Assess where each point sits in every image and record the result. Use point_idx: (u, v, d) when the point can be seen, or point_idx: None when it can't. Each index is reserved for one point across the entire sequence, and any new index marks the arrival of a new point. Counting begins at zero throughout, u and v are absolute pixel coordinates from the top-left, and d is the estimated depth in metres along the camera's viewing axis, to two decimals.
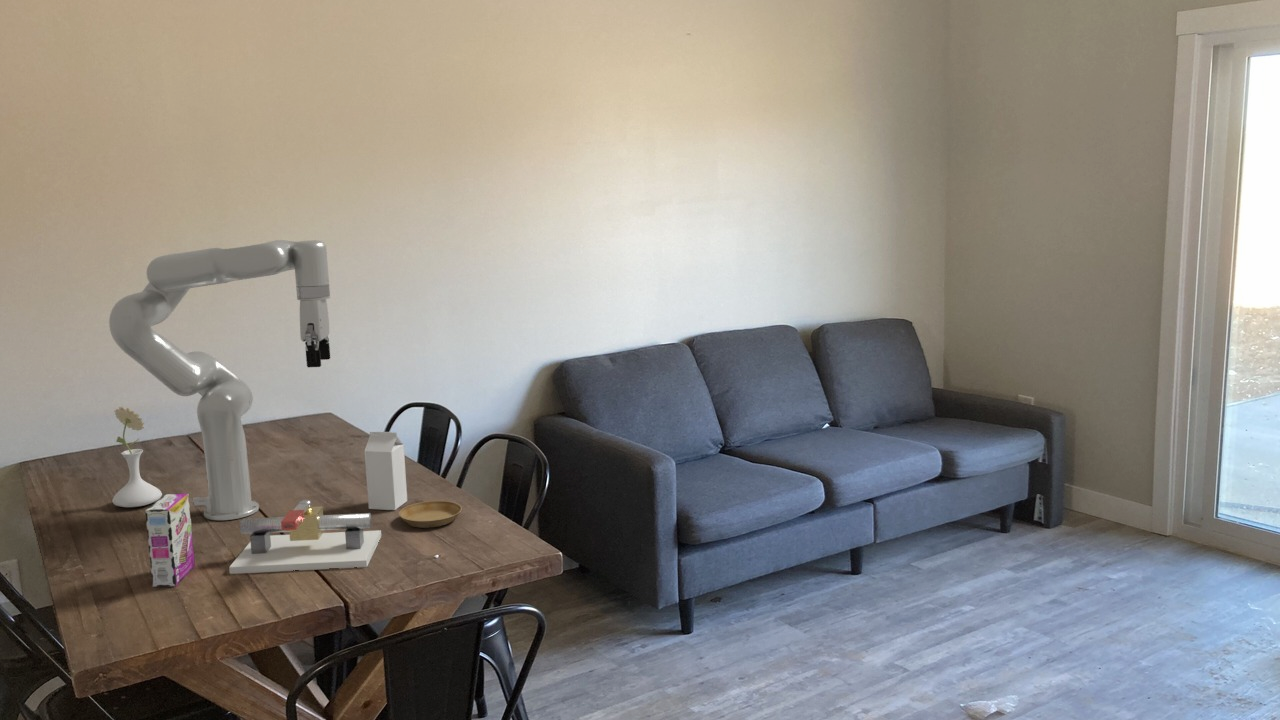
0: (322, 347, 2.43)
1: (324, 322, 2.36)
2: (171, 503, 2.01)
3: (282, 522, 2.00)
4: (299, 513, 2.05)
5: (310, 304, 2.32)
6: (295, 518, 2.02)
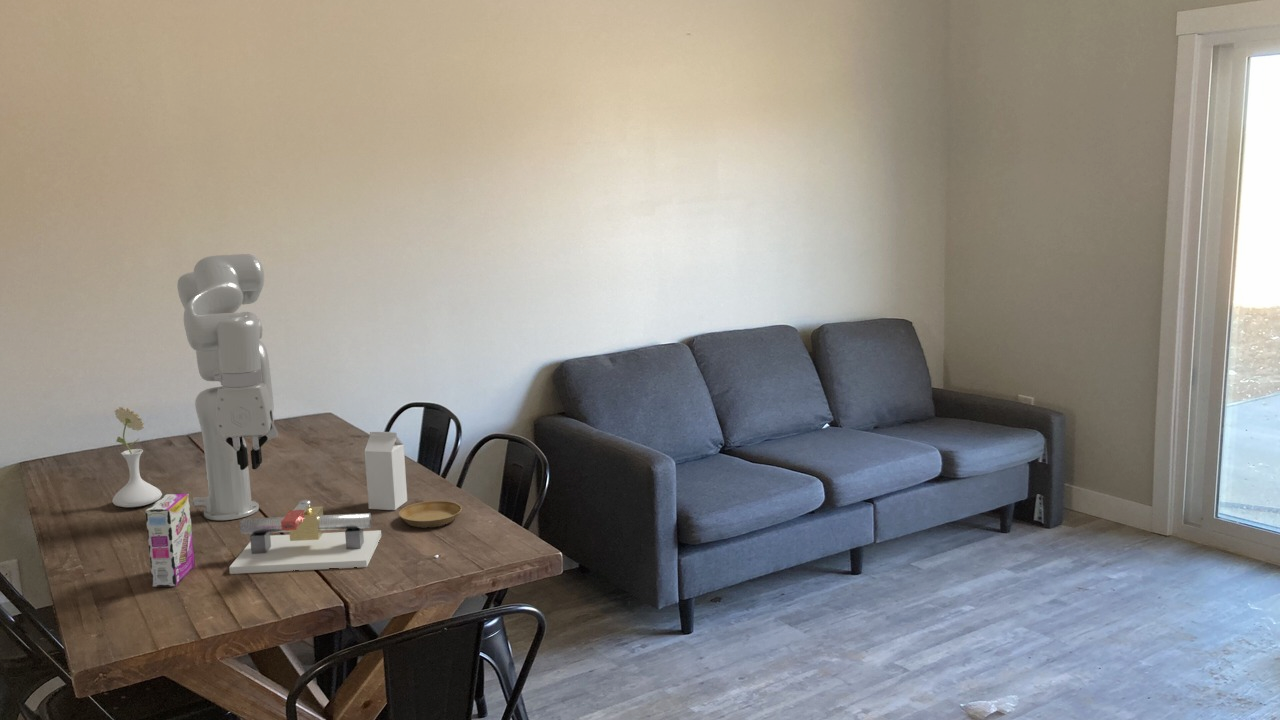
0: (245, 453, 2.01)
1: None
2: (171, 503, 2.01)
3: (282, 522, 2.00)
4: (299, 513, 2.05)
5: (266, 389, 1.99)
6: (295, 518, 2.02)
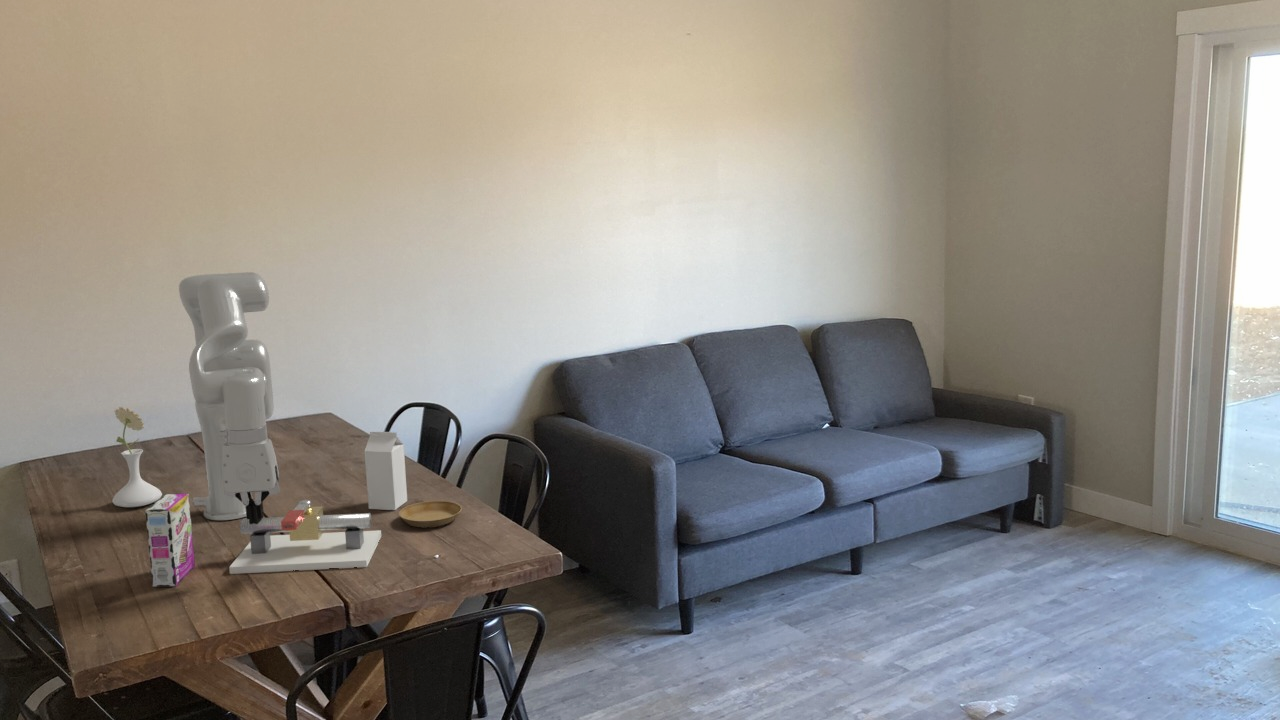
0: None
1: None
2: (171, 503, 2.01)
3: (282, 522, 2.00)
4: (299, 513, 2.05)
5: (271, 445, 2.01)
6: (295, 518, 2.02)
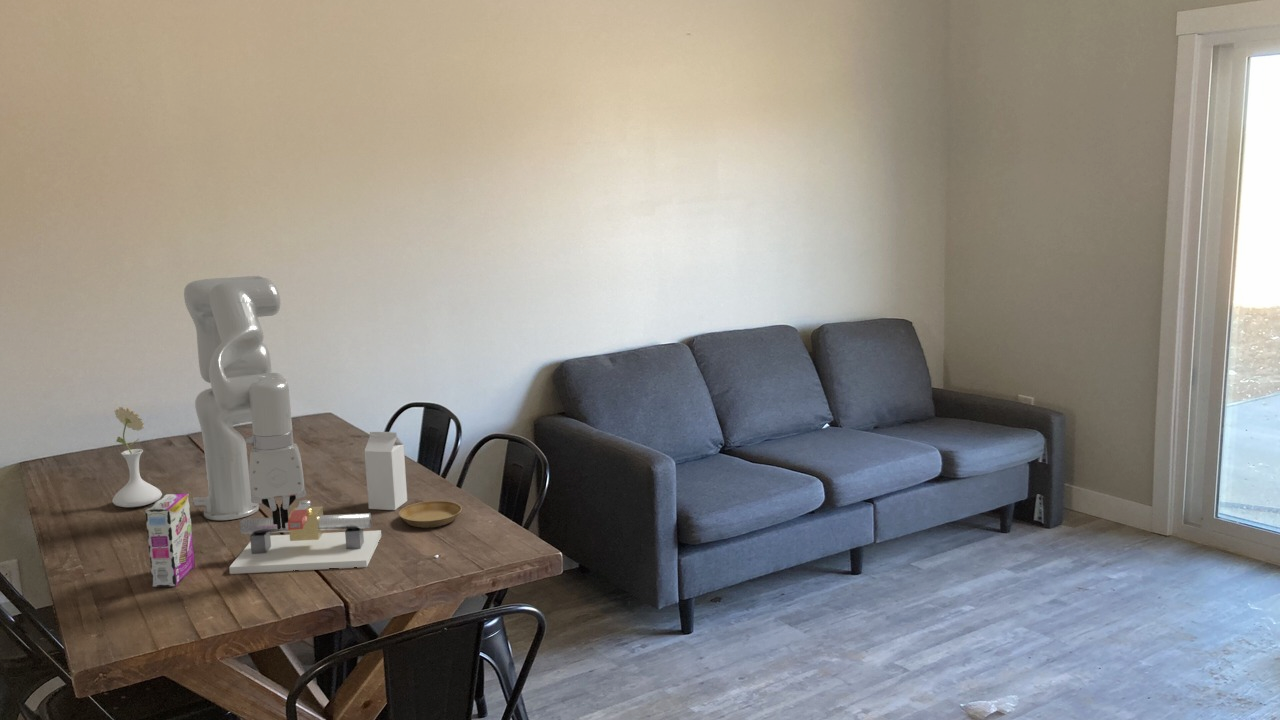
0: None
1: None
2: (171, 503, 2.01)
3: (289, 522, 2.01)
4: (303, 513, 2.05)
5: None
6: (301, 517, 2.02)
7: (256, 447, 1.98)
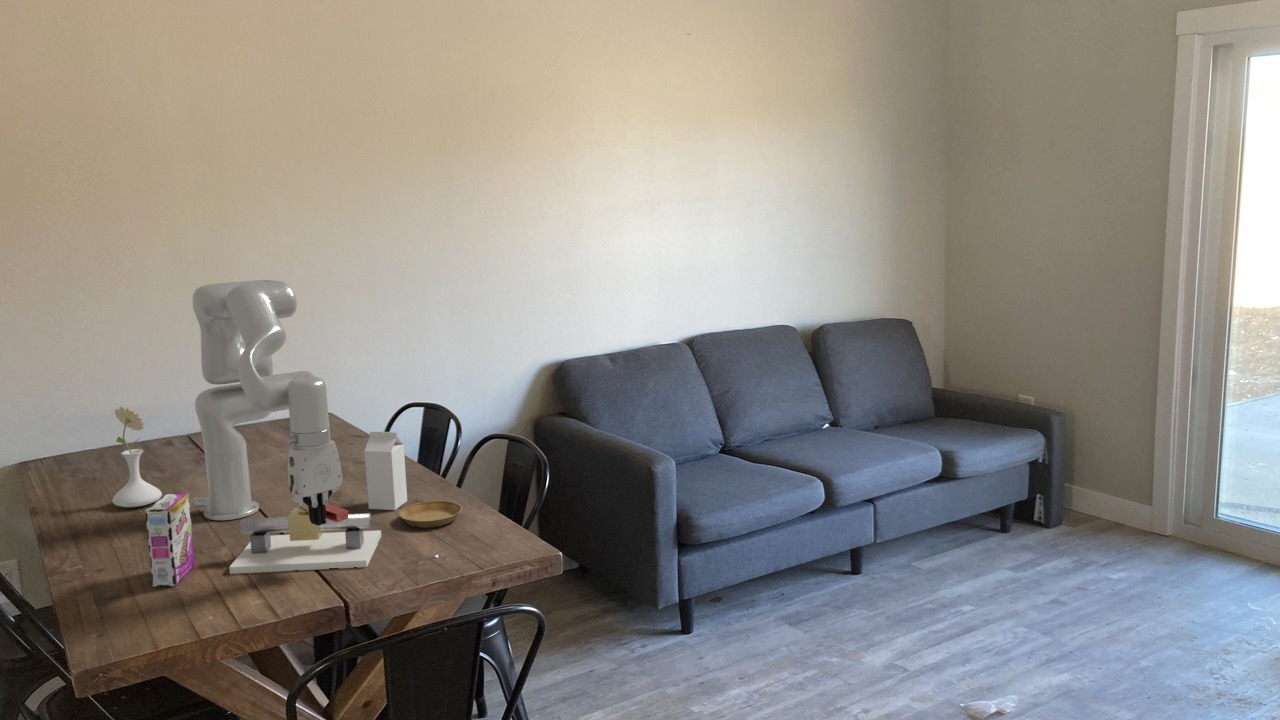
0: None
1: None
2: (171, 503, 2.01)
3: (337, 514, 2.05)
4: (333, 506, 2.09)
5: None
6: (341, 509, 2.07)
7: (301, 445, 1.99)
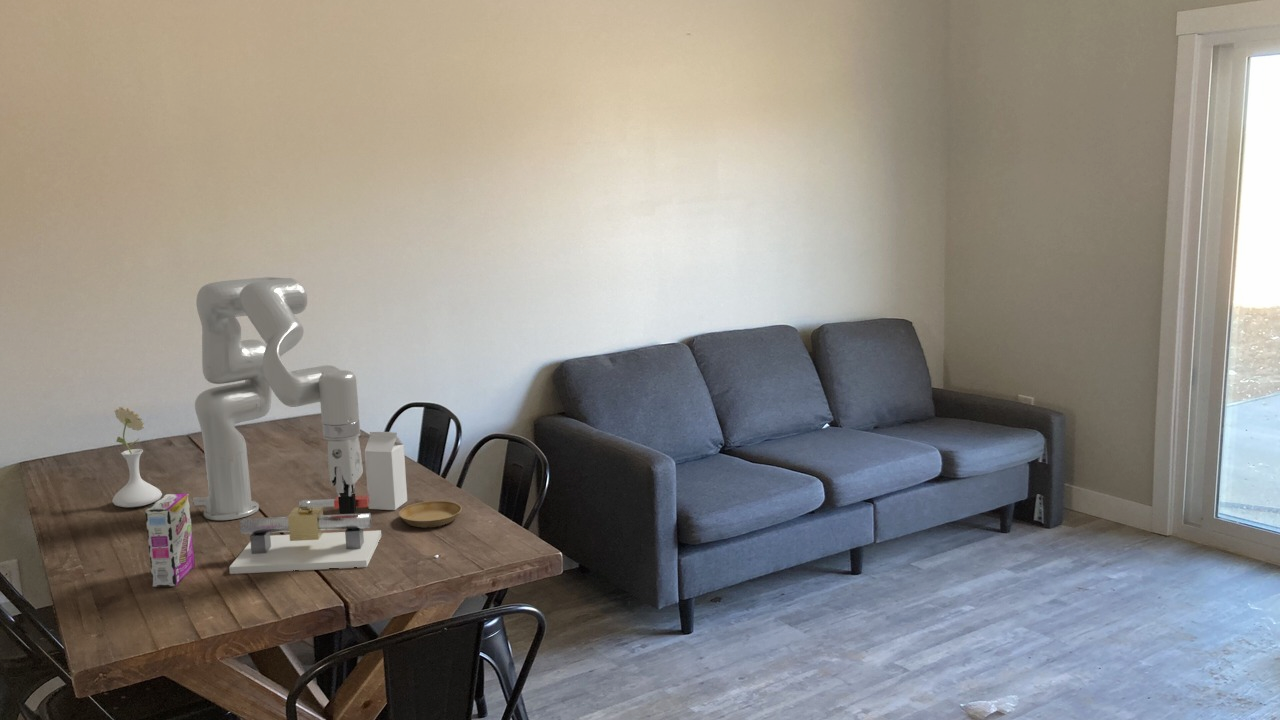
0: None
1: None
2: (171, 503, 2.01)
3: (367, 499, 2.14)
4: None
5: None
6: (361, 495, 2.16)
7: (345, 436, 2.05)
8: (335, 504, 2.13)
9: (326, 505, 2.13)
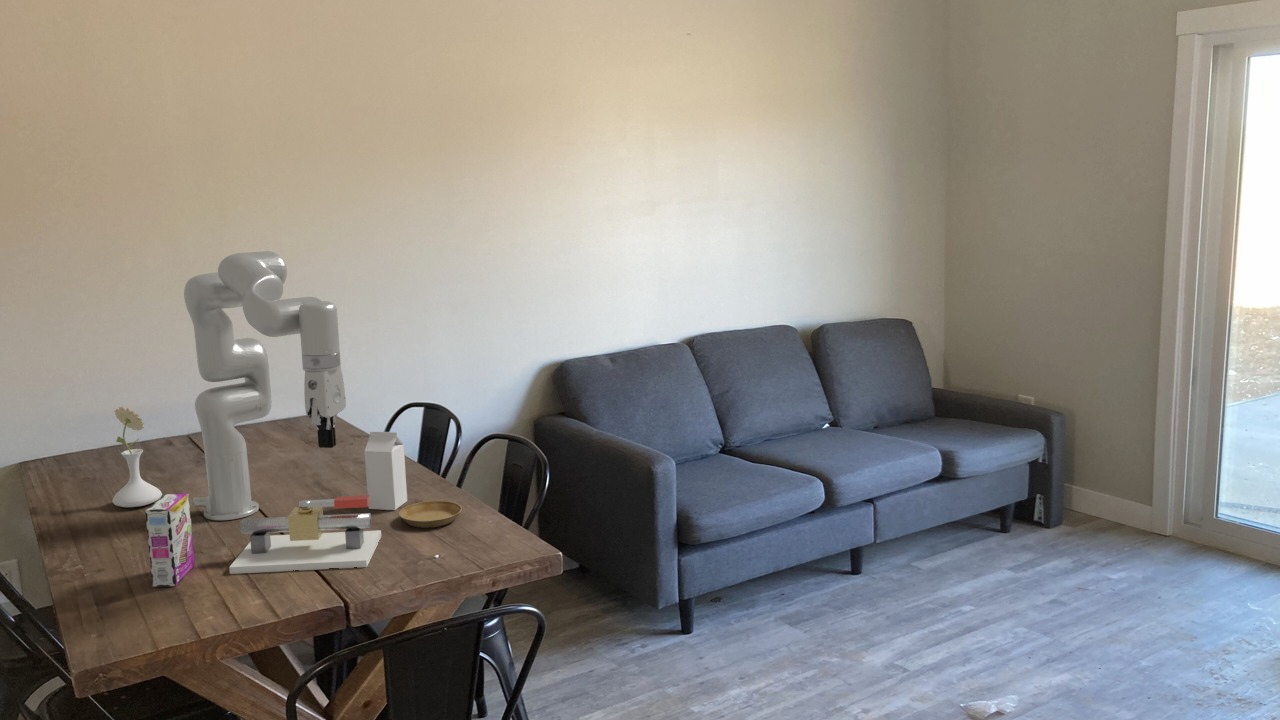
0: None
1: None
2: (171, 503, 2.01)
3: (367, 499, 2.14)
4: (346, 496, 2.16)
5: None
6: (361, 495, 2.16)
7: (322, 367, 2.02)
8: (335, 504, 2.13)
9: (326, 505, 2.13)
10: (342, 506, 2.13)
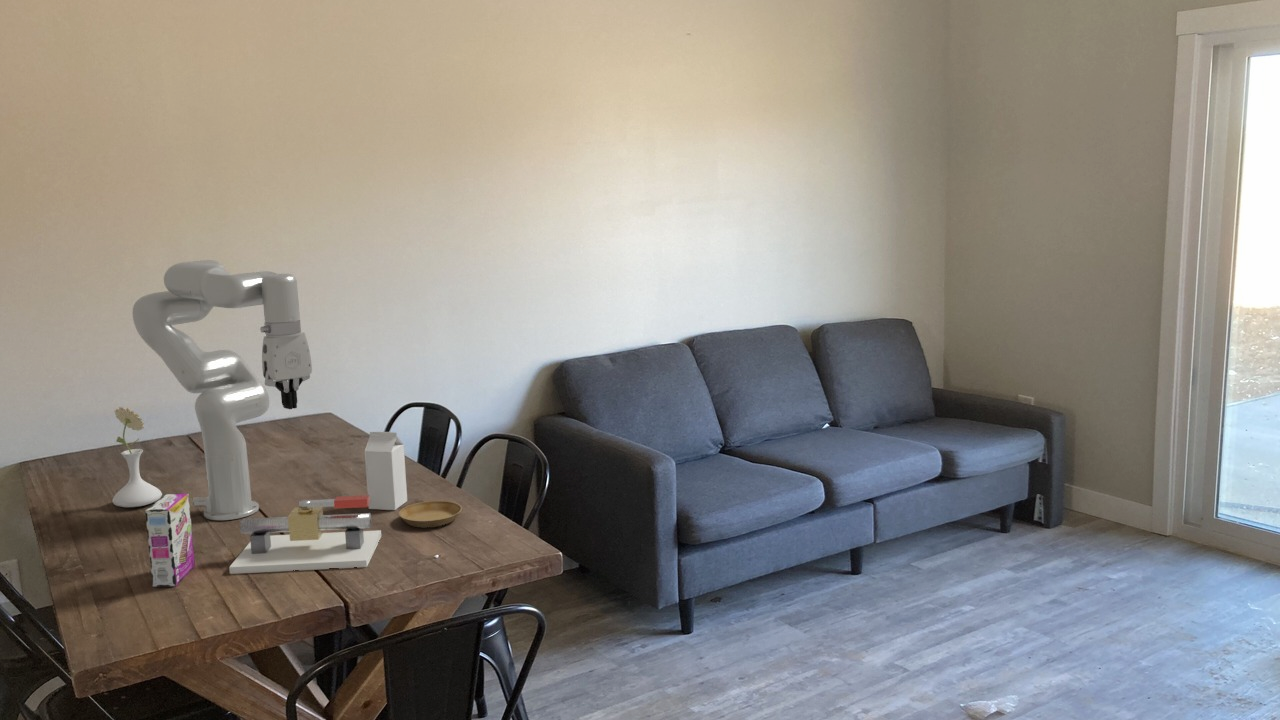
0: None
1: None
2: (171, 503, 2.01)
3: (367, 499, 2.14)
4: (346, 496, 2.16)
5: None
6: (361, 495, 2.16)
7: (274, 334, 2.20)
8: (335, 504, 2.13)
9: (326, 505, 2.13)
10: (342, 506, 2.13)
